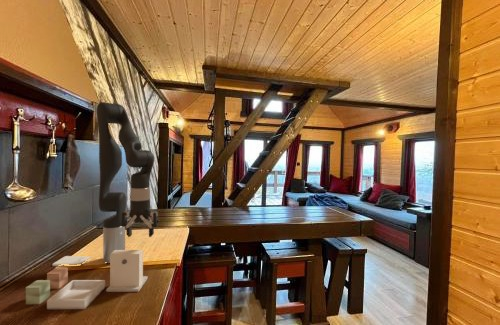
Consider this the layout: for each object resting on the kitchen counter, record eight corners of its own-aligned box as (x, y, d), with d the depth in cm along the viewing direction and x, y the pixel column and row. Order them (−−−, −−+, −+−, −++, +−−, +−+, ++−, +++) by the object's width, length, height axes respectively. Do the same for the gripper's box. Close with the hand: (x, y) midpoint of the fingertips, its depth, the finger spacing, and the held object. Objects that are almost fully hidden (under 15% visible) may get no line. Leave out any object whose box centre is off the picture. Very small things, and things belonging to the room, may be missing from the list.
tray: (72, 287, 90) (72, 280, 90) (105, 287, 91) (105, 280, 91) (47, 309, 78) (46, 300, 78) (84, 309, 79) (84, 300, 78)
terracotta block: (56, 282, 94) (56, 267, 93) (67, 282, 94) (67, 267, 94) (47, 288, 89) (46, 273, 89) (59, 288, 89) (59, 273, 89)
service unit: (118, 278, 97) (118, 246, 97) (147, 278, 98) (147, 246, 97) (106, 291, 88) (106, 255, 88) (138, 291, 89) (138, 256, 88)
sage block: (37, 296, 85) (36, 280, 84) (50, 296, 85) (49, 280, 85) (26, 304, 80) (25, 287, 80) (39, 304, 81) (39, 287, 80)
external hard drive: (66, 258, 114) (91, 259, 114) (52, 267, 106) (79, 267, 106) (66, 255, 114) (91, 256, 114) (52, 263, 106) (79, 264, 106)
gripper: (160, 196, 101) (160, 233, 101) (126, 196, 100) (126, 232, 101) (154, 200, 93) (154, 239, 94) (118, 199, 92) (118, 239, 93)
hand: (140, 236), depth 97 cm, fingers open, 8 cm apart
